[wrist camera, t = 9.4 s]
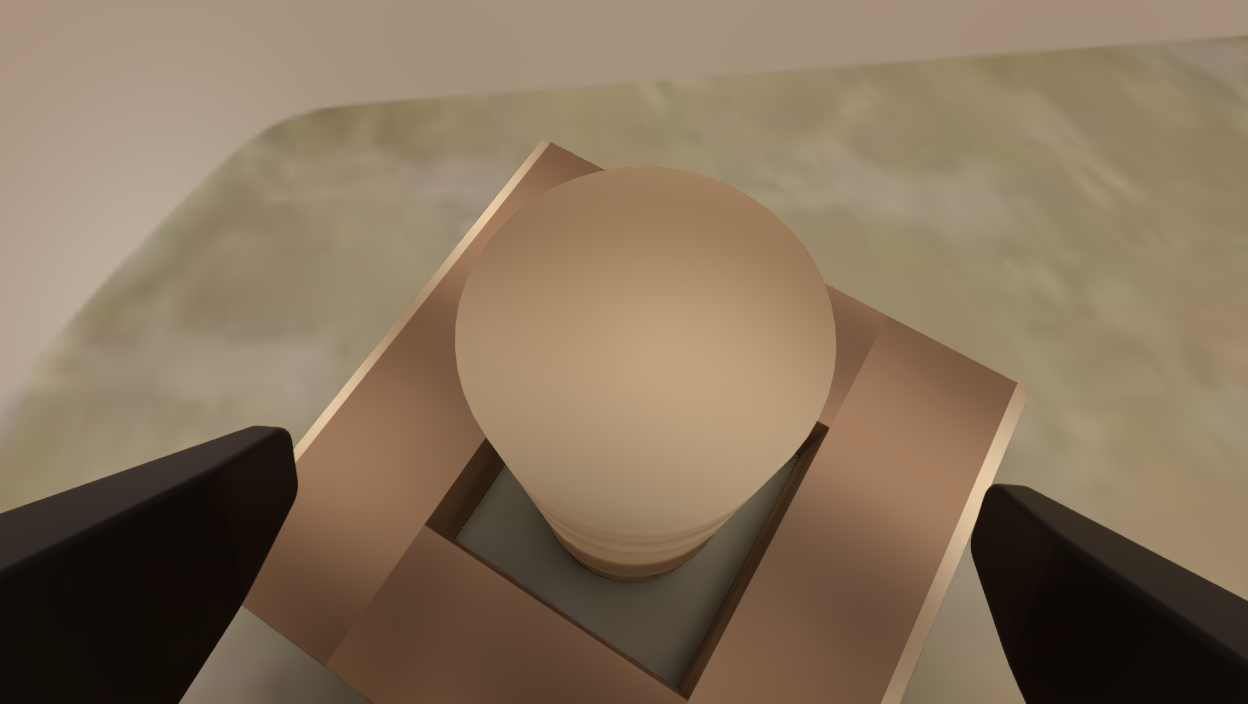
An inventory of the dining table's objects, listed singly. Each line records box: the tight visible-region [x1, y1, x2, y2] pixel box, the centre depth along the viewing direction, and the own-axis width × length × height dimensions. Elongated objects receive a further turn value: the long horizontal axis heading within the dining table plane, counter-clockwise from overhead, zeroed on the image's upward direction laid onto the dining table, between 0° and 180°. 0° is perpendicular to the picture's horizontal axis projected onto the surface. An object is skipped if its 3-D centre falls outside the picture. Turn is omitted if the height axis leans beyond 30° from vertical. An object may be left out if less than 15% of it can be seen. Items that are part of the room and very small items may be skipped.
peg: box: [455, 167, 836, 582], centre depth 14 cm, size 4×4×12 cm
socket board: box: [242, 140, 1029, 704], centre depth 18 cm, size 14×15×3 cm
